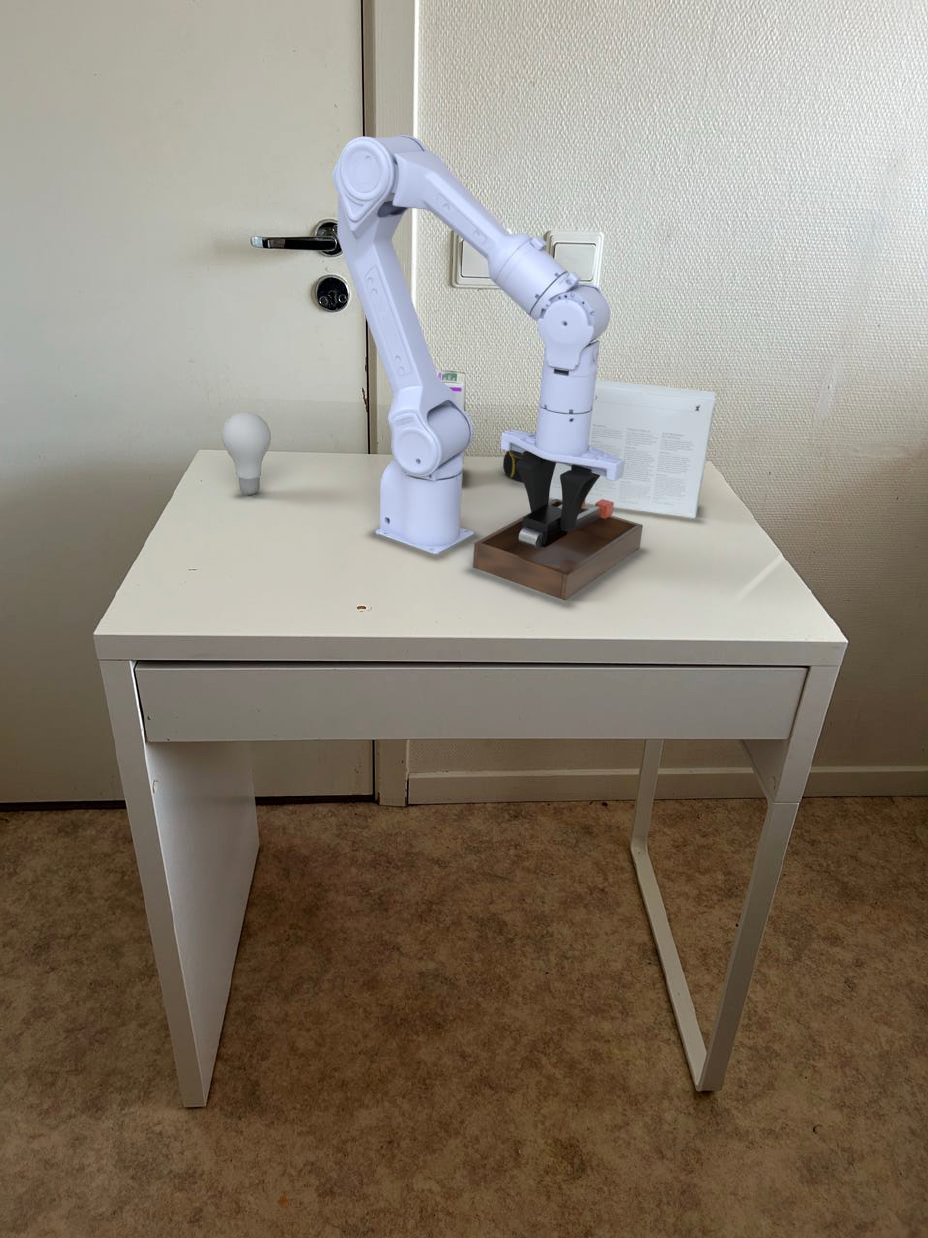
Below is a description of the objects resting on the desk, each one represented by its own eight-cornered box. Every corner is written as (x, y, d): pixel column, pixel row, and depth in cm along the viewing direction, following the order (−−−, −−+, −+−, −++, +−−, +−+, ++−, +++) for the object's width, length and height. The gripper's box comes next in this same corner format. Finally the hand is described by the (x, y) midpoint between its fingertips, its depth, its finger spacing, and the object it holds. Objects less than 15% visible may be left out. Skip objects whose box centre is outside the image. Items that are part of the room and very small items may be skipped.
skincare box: (697, 506, 129) (717, 390, 122) (695, 521, 125) (717, 401, 117) (544, 485, 133) (554, 372, 126) (537, 499, 129) (547, 382, 121)
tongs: (612, 514, 114) (615, 492, 113) (547, 554, 104) (549, 531, 102) (573, 502, 117) (576, 481, 116) (505, 540, 106) (507, 517, 105)
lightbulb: (283, 493, 126) (279, 412, 121) (251, 507, 122) (245, 423, 116) (249, 482, 129) (244, 402, 124) (216, 495, 125) (209, 413, 119)
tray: (472, 570, 109) (474, 542, 107) (553, 524, 122) (555, 498, 120) (564, 604, 103) (567, 575, 101) (639, 551, 116) (643, 524, 114)
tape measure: (557, 485, 134) (560, 459, 132) (512, 488, 132) (514, 462, 130) (539, 468, 139) (542, 443, 137) (495, 471, 137) (497, 446, 135)
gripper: (644, 412, 101) (626, 530, 108) (528, 384, 108) (519, 496, 115) (612, 427, 96) (596, 550, 102) (493, 397, 103) (485, 514, 110)
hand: (553, 523), depth 108 cm, fingers closed on tongs, 3 cm apart
